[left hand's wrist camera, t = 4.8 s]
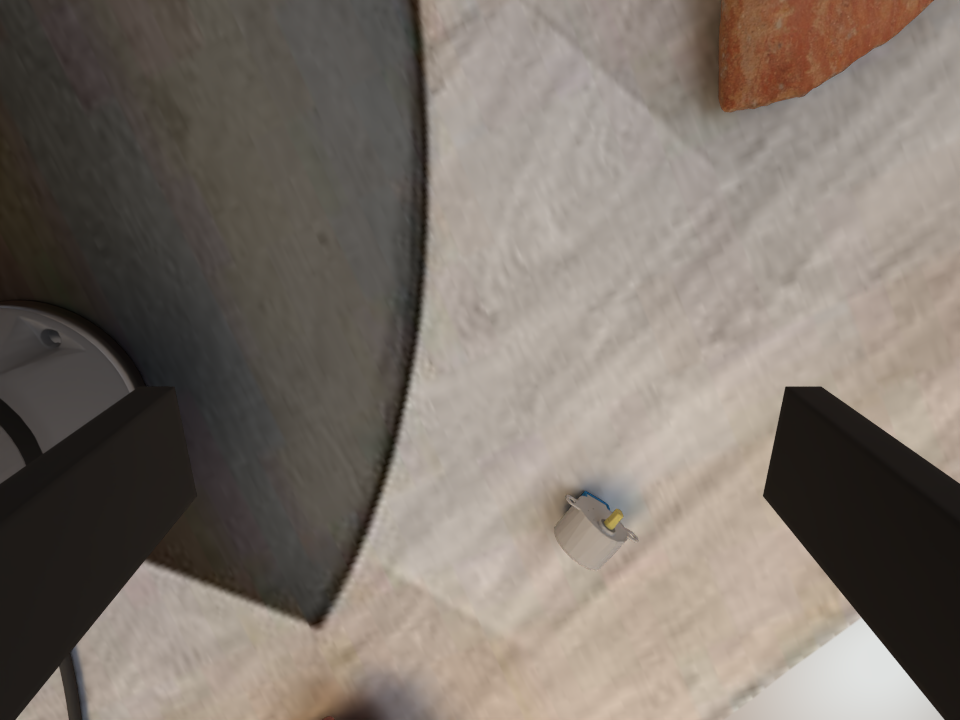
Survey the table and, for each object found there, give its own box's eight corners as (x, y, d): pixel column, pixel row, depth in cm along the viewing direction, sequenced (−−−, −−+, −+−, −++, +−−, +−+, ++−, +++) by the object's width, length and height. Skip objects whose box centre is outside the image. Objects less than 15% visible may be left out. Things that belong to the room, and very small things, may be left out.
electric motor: (642, 503, 46) (660, 543, 41) (605, 543, 47) (619, 587, 42) (574, 462, 44) (585, 499, 40) (538, 505, 46) (544, 545, 41)
